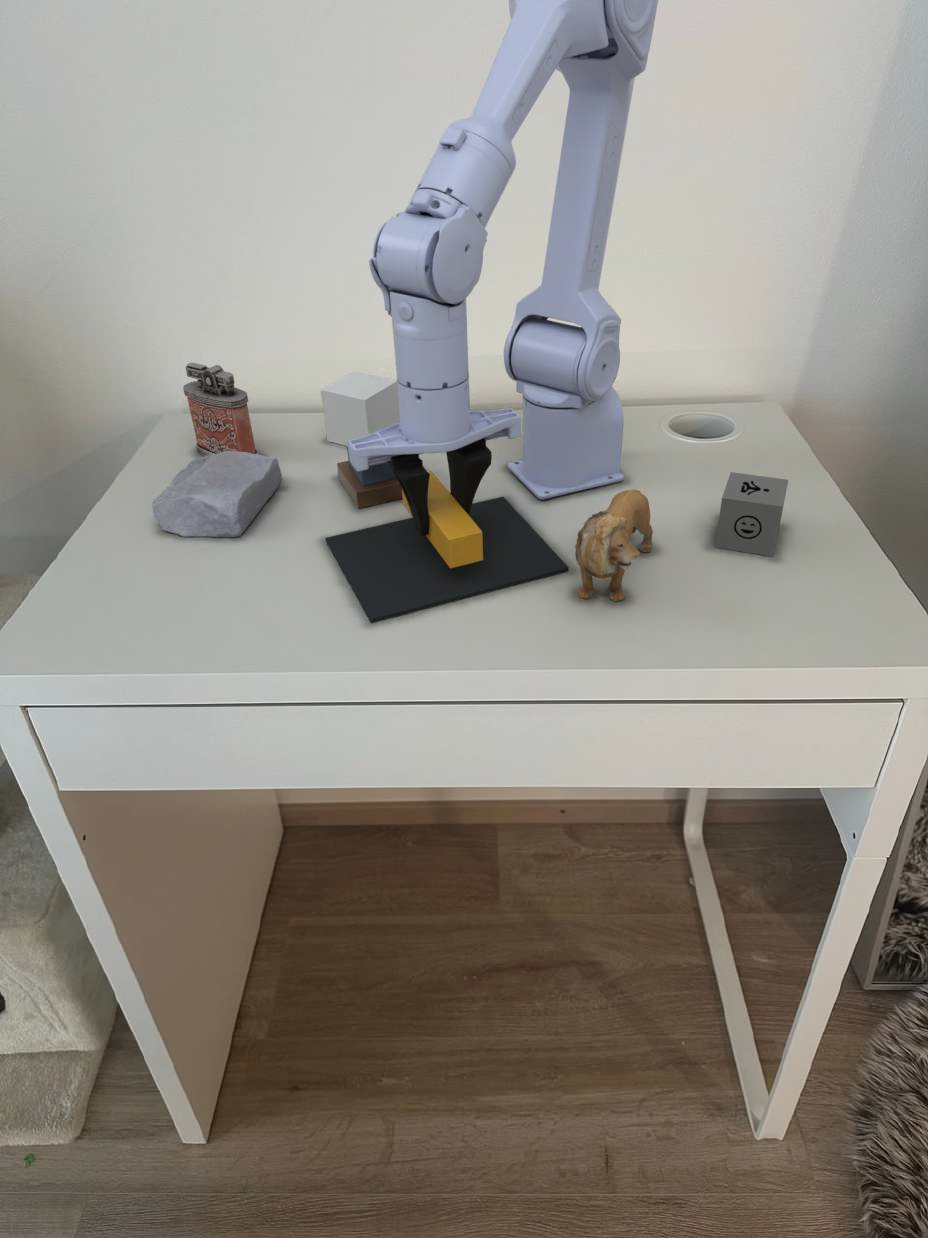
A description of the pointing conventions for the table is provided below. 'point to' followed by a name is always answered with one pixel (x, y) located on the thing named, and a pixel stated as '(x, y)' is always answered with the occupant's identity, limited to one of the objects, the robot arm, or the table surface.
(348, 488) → the brown blue stepped block
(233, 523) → the stone block
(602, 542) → the lion figurine
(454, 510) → the bar
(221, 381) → the lighter
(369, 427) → the white cube
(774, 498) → the dice cube
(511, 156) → the robot arm
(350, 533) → the mat
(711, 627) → the table surface
